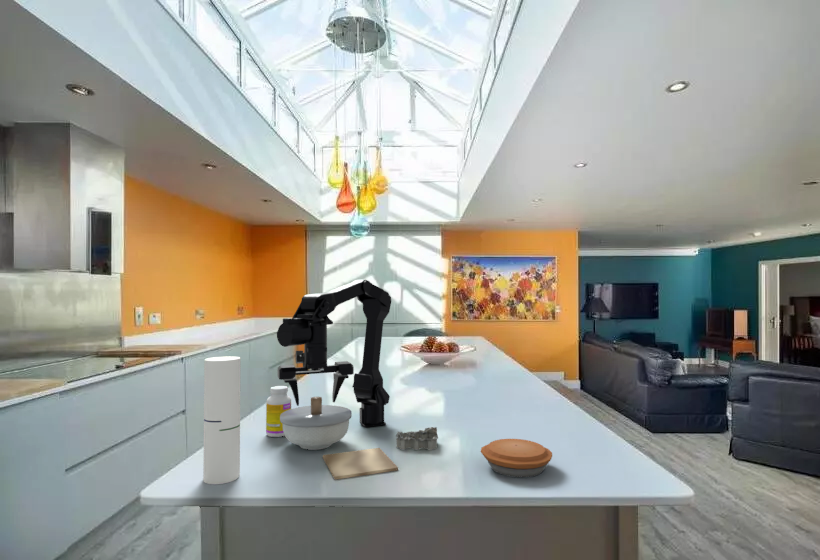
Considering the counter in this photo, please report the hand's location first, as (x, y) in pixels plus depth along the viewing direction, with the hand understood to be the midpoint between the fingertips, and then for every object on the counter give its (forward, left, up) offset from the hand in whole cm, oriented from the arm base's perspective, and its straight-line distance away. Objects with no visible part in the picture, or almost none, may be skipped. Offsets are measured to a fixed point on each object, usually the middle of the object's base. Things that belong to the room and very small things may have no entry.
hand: (315, 403), depth 119 cm
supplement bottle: (+8, -13, -11) cm, 19 cm away
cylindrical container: (+22, +14, -11) cm, 28 cm away
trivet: (-7, +17, -10) cm, 21 cm away
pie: (-39, +32, -11) cm, 52 cm away
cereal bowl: (0, 0, -11) cm, 11 cm away
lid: (0, 0, -4) cm, 4 cm away
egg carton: (-24, +10, -11) cm, 28 cm away
